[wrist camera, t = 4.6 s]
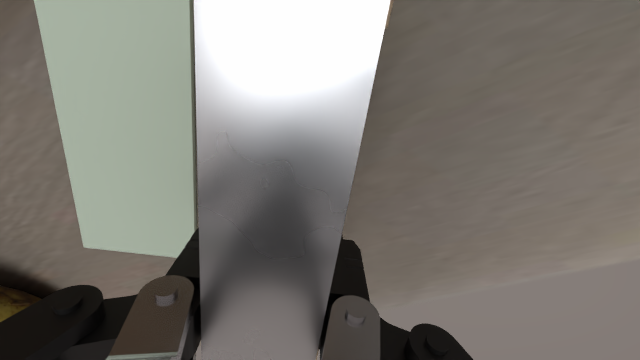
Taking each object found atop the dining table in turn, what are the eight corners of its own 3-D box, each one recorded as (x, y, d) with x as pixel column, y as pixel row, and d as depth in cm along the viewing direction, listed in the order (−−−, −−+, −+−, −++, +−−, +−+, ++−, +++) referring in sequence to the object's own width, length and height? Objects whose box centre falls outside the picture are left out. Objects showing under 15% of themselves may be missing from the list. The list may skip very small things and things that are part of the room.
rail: (426, -320, 5) (536, -707, 3) (283, 463, 16) (276, 550, 13) (253, -361, 5) (175, -817, 2) (225, 458, 16) (205, 545, 13)
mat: (191, -86, 19) (187, -90, 18) (197, 255, 29) (195, 259, 29) (18, -119, 18) (9, -123, 17) (88, 243, 28) (83, 247, 28)
